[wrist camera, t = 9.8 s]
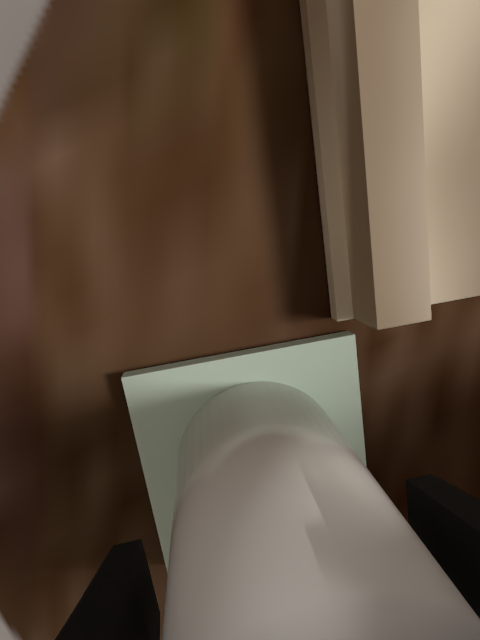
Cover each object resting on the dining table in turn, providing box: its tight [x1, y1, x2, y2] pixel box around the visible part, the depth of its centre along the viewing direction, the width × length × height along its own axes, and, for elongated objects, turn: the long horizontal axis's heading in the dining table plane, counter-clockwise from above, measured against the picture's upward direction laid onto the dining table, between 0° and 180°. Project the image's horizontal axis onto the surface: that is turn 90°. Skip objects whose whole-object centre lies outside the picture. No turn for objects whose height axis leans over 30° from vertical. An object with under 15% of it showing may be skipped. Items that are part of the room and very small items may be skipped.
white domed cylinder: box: [162, 381, 480, 640], centre depth 9 cm, size 5×6×7 cm
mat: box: [121, 331, 367, 574], centre depth 12 cm, size 7×7×1 cm
